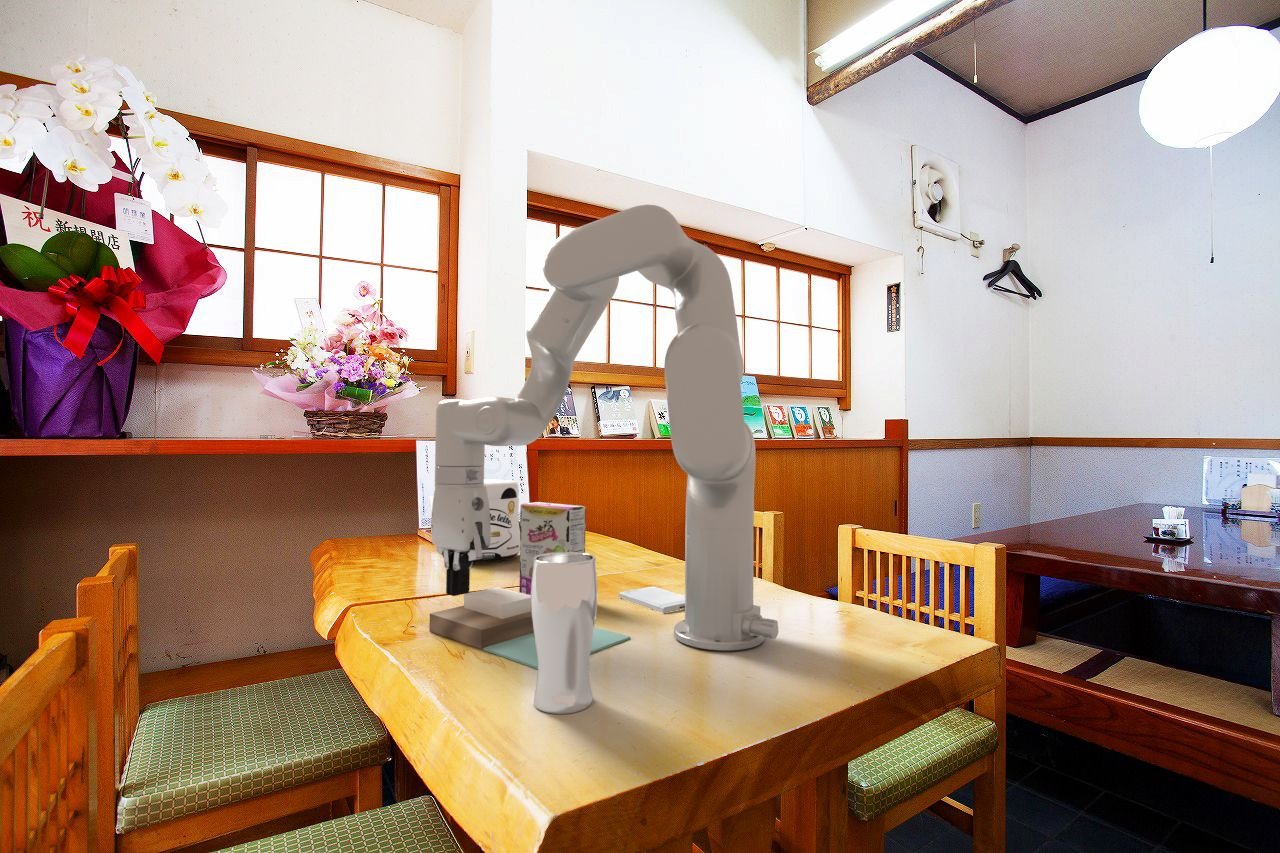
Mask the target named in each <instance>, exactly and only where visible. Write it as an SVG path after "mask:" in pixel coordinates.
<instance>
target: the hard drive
mask: <svg viewBox="0 0 1280 853" xmlns="http://www.w3.org/2000/svg"><path fill="white" fill-rule="evenodd" d="M619 597H620V598H622V599H621V600H623V599H625V600H624V601H626V600H628V601H630V602H629V603H631V602H633V603H632V604H634V603H636V604H635V605H637V604H639V605H638V606H640V605H642V606H645V607H647V608H646V609H648V608H650V609H649V610H651V609H653V610H652V611H654V610H656V611H655V612H657V611H659V612H662V613H665V614H667V613H666V612H670V611H675V612H677V611H676V610H680V609H685V595H684V594H679V593H678V592H673V591H669V590H666V589H663V588H660V587H658V586H647V587H642V588H636V589H630V590H624V591H620V592H619V593H618V598H619ZM620 598H619V599H620ZM628 601H627V602H628ZM642 606H641V607H642ZM645 607H644V608H645ZM680 611H681V610H680ZM659 612H658V613H659ZM662 613H661V614H662ZM670 613H671V612H670Z"/></svg>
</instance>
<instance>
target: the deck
mask: <svg viewBox="0 0 1280 853" xmlns="http://www.w3.org/2000/svg"><path fill="white" fill-rule="evenodd" d="M429 632H431V633H434V634H437V635H440V636H442V637H444V638H448V639H451V640H454V641H457V642H459V643H462V644H464V645H468V646H471V647H474V648H476V649H479V650H483V649H484V648H485V647H488V646H491V645H495V644H498V643H501V642H504V641H508V640H511V639H514V638H517V637H521V636H524V635H527V634H531V633H533V626H532V617H531V611H530V612H526V613H523V614H519V615H515V616H511V617H508V618H504V619H501V618H498V617H494V616H491V615H487V614H484V613H480V612H477V611H473V610H470V609H467V608H464V605H460V606H457V607H452V608H448V609H444V610H443V609H442V610H438V611H434V612H431V613H429Z"/></svg>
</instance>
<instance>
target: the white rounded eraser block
mask: <svg viewBox="0 0 1280 853" xmlns="http://www.w3.org/2000/svg"><path fill="white" fill-rule="evenodd" d="M463 606H464V608H467V609H470V610H473V611H477V612H480V613H484V614H487V615H491V616H494V617H498V618H501V619H504V618H508V617H511V616H515V615H519V614H523V613H526V612H530V611H531V595H528V594H524V593H520V592H519V591H515V590H510V589H508V588H507V589H506V588H503V587H498V586H495V587H491V588H486V589H481V590H476V591H472V592H471V591H470V592H469V593H466V594H463Z"/></svg>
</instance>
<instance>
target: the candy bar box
mask: <svg viewBox="0 0 1280 853" xmlns="http://www.w3.org/2000/svg"><path fill="white" fill-rule="evenodd" d="M586 510H587V508H586V506H583V505H574V504H563V503H553V502H543V501H542V502H540V501H535V502H528V503H527V502H525V503H522V504H520V511H519V512H520V518H519V523H520V552H519V588H518V590H519V591H518V592H520V593H524V594H528V595H531V581H532V571H533V558H534V557H535V556H537V555H540V554H545V553H554V552H580V553H586V516H587V515H586Z"/></svg>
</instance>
